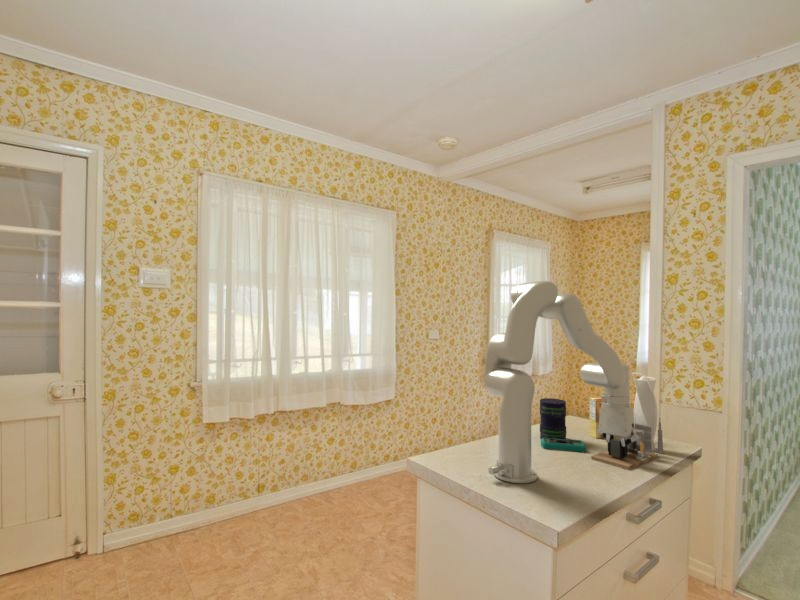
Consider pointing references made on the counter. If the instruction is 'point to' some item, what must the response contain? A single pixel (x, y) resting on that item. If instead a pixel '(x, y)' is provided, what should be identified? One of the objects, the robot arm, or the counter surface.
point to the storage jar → (552, 418)
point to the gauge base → (631, 458)
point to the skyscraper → (647, 409)
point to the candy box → (595, 416)
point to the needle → (641, 450)
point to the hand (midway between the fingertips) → (617, 455)
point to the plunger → (616, 447)
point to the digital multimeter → (563, 444)
